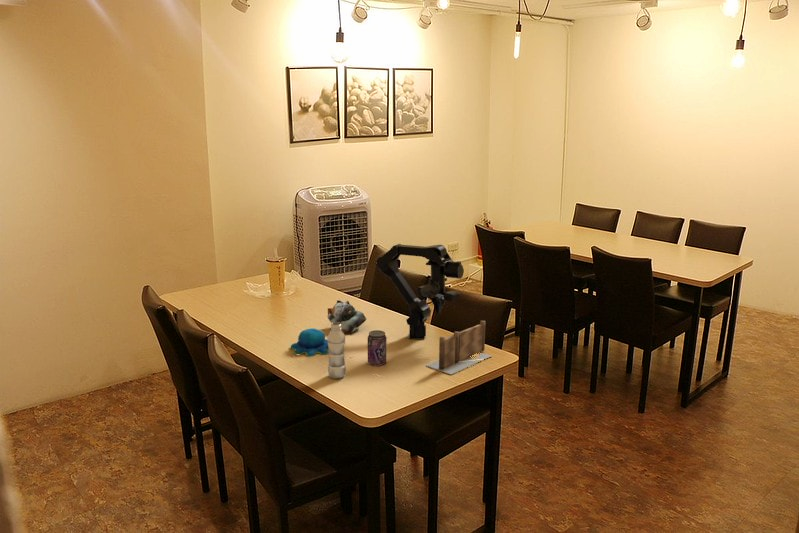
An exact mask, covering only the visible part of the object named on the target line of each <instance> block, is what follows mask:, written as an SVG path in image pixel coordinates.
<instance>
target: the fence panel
mask: <svg viewBox="0 0 799 533" xmlns="http://www.w3.org/2000/svg"><path fill="white" fill-rule="evenodd" d="M458 332H459V358H458V361H460V360H463V359H465V358H467V357H470V356H472V355H474V354H476V353H479V352H481V353H482V352H485V344H486V343H485V342H486V341H485V340H486V320H480V321H479V324H476V325H475V326H471V327H469V328H466V329H464V330H461V331H458Z"/></svg>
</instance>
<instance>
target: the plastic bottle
mask: <svg viewBox="0 0 799 533" xmlns="http://www.w3.org/2000/svg"><path fill="white" fill-rule="evenodd" d="M341 329H342V327H341V323H340V322H333V323H331V322H330V331H329V333H328V335H327V338H326V340H327V341H328V347H329V350H328V352H329V353H328V354H329V357H328V358H329V359H328V366H327V373H328V376H329V377H330V379H331V378H332V379H336V380H337V379H342V378H344V377H345V375H346V373H347V368H346V362H345V346H346V345H345V344H346V336H345V335H346V334H343V332H342V331H341Z"/></svg>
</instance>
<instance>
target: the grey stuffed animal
mask: <svg viewBox="0 0 799 533" xmlns="http://www.w3.org/2000/svg"><path fill="white" fill-rule="evenodd" d="M327 320H328V321H329V322H330V324H331V323H333V322H340V323H341V327H342V329H341V331H342V332H343V334H344V335H351V334H353V333H354V332H355V331H357V330H358V328H359V327H361V325H363V324H364V323H365V322H366V321H367V317H366V316H365V314H364V313H363V312H362V311H360V310H356V309H355V307H354V306H353V305H352V304H351V303H350V301H349V300H345V301H344V302H343V301H342V300H340V299H339V300H336V303H335V304H334V305H333V307H327Z"/></svg>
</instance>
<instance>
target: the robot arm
mask: <svg viewBox="0 0 799 533" xmlns="http://www.w3.org/2000/svg"><path fill="white" fill-rule="evenodd" d="M401 255H402V256H410V257H411V256H413V257H421V258H425V259H426V260H428V261H426V263H425V265H426V266H430V278H429V279H428V280H427V282H428V283H427V284H424V285H421V286H417V288H416V294H415V292H414V291H413V289H412V288H411V286H410V284H409V283H408V282H407V280H406V279H405V278H404V276H403V275H402V273H401V272H400V270H399V263H398V261H397V260H398V259H400V256H401ZM375 265H376V267H377V268H378V270H379V271H380V273H382V274H384V275H385V276H386V277H388V278H390V280H391V282H392V283H393V285H394V286H395V288H396V289H397V290H398V292H399V294H400V295H401V296H402V298H403V299H404V301H405V302H406V304H407V305H408V310H409V314H410V316H409V317H408V318H407V319H406V323H407V326H408V328H409V332H408V333H409V334H408V339H409V340H425V337H426V336H427V325H426V324H425V322H427V321H428V318H430V317H431V313H432V310H431V306H430V305H429V304H428V302H427V301H426V299H422V300H421V299H419V297H417V295H419V296H422V298H427V299H429V300H430V301H431V303H432V304H433V308H434V310H435V313H436V314H441V313H442V310H443V308H444V305H445V303H446V302H447V301H448V302H454V301H457V300H460V299H461V293H460V292H459V291H456V290H448V287H446V282H447V281H448V278H449V279H450V278H451V279H458V280H461V279H462V278H463V276H464V272H465V271H464V270H465V269H464V266H463V265H462V261H460V260H459V261H458V260H457V261H453V259H452V257H451V256H450V255H449V253H448V252H447V248H446V247H445V245H443V244H435V245H434V244H433V245H427V246H424V245H423V246H421V245H411V244H409V245H408V244H401V243H397V244H395V245H394V244H393V245H392V247H391V248H389V250H388V251H386V253H384V254H383V255H381V256H379V257H378V258H377V260H376V264H375Z"/></svg>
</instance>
